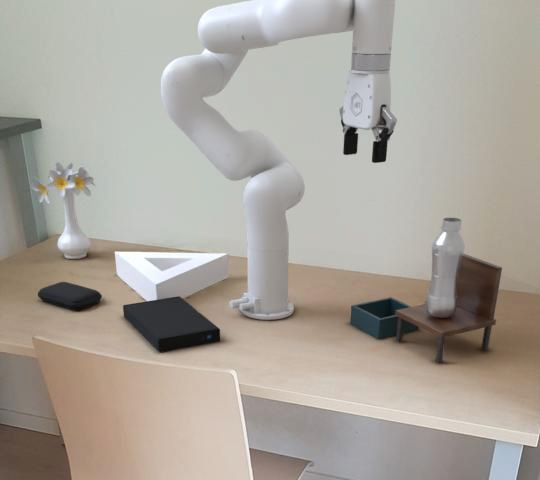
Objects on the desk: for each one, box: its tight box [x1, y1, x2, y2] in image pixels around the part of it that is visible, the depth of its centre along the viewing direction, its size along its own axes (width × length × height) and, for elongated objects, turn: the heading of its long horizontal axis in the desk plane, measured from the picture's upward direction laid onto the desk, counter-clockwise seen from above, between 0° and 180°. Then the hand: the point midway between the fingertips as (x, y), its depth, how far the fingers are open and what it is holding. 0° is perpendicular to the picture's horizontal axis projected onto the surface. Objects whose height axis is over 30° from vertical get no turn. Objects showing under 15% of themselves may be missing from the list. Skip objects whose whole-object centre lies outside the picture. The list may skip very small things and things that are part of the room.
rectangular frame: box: [349, 296, 420, 340], centre depth 179 cm, size 12×11×4 cm
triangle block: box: [114, 251, 230, 302], centre depth 203 cm, size 30×26×6 cm
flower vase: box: [29, 160, 96, 260], centre depth 217 cm, size 13×18×25 cm
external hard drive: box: [122, 296, 221, 353], centre depth 177 cm, size 14×23×3 cm, turn 27°
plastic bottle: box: [424, 217, 466, 318], centre depth 162 cm, size 6×7×20 cm
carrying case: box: [37, 281, 103, 311], centre depth 192 cm, size 11×3×15 cm
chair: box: [395, 253, 503, 364], centre depth 166 cm, size 15×15×18 cm
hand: (364, 158), depth 161 cm, fingers open, 9 cm apart
